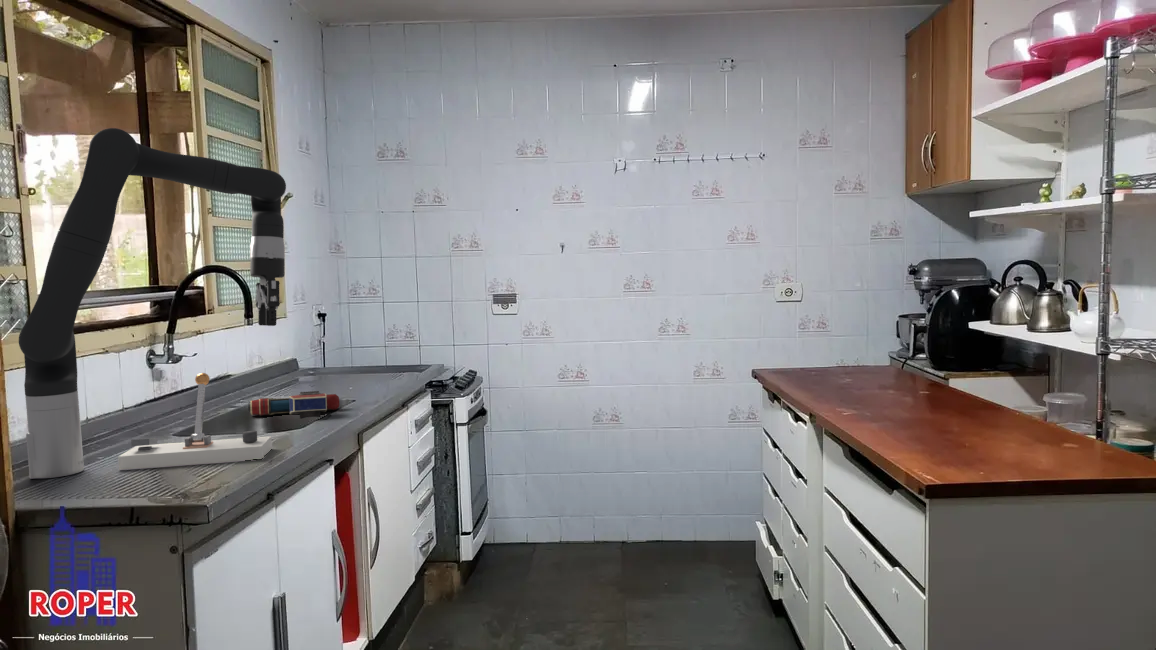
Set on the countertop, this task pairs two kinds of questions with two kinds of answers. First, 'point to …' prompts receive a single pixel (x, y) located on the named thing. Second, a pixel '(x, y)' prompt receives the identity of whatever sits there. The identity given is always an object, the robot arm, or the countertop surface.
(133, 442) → the rocker
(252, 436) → the push button
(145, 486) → the countertop surface
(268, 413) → the tool
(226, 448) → the control panel
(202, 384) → the toggle lever
